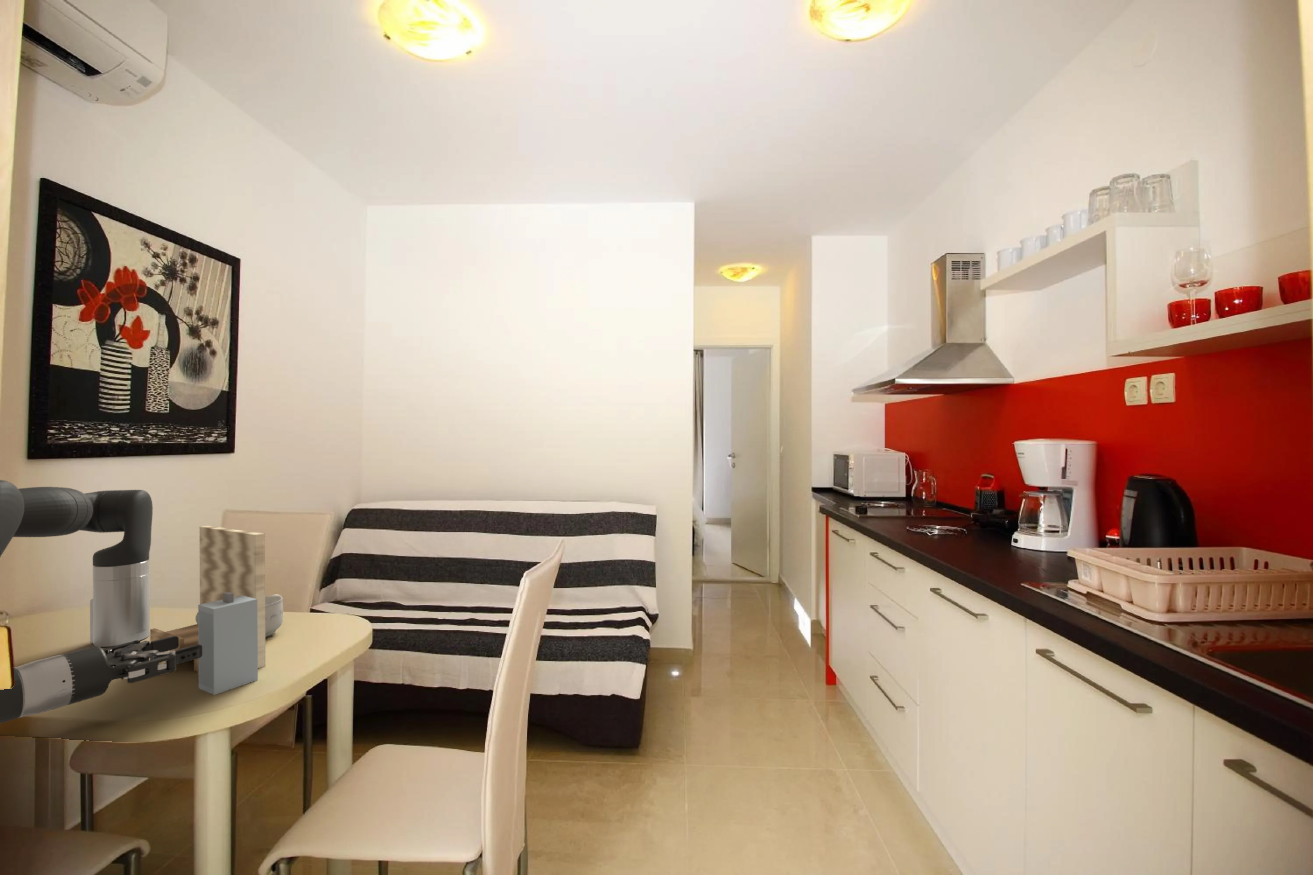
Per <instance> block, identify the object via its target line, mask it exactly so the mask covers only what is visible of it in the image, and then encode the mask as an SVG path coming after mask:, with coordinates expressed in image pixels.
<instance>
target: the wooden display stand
mask: <svg viewBox="0 0 1313 875" xmlns="http://www.w3.org/2000/svg"><path fill="white" fill-rule="evenodd" d="M265 537H266V536H265V533H264V532H263V533H262V532H256V531H249V530H241V529H236V528H235V529H233V528H227V527H222V526H221V527H220V526H213V525H202V526H199V604H204V603H209V602H213V601H218V600H222V599H223V593H225V592H230V593H234V597H236V596H241V595H242V596H247V597H251V598H255V599H257V624H258V669H260V668H264V667H266V637H265V596H266V550H265V549H266V546H265V545H266V539H265ZM149 636H150V640H149V641H150V643H151V641H155V640H159V639H163V638H167V637H171V636H177V637H178V638H179V646H178V648H176V649H173V650H170V651H174V650H178V649H182V648H186V647H189V646H193V645H197V644H198V624H197V623H196V624H192V625H187V626H184V627H178V628H175V629H171V630H167V631H164V630H161V629H158V628H150V635H149ZM263 666H264V667H263ZM193 671H194V672H196V673H199V658H198V659H194V660H193Z"/></svg>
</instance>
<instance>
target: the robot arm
mask: <svg viewBox="0 0 1313 875" xmlns="http://www.w3.org/2000/svg"><path fill="white" fill-rule="evenodd" d="M153 507H154V506H153V500H152V497H151V495H150V494H149V492H147V491H146V490H144V489H122V490H121V489H119V490H118V489H117V490H115V489H113V490H98V491H93V492H85V493H84V492H82V491H80V490H78V489H75V488H70V487H62V486H61V487H60V486H33V487H23V488H22V487H21V488H18V487H17V486H16V485H14V484H13V483H11V482H10V481H8V480H1V479H0V558H1V557H2V556H3V554H4V551H5V550H6V549H7V547H8V546H9V544H10V543H11V541H12V539H13V538H50V537H59V536H60V537H61V536H67V535H71V534H74V533H76V532H78V531H84V532H90V533H100V534H102V533H103V534H104V533H105V534H106V533H123V537H122V540H121V541H120V542H117V543H116V544H114V545H111V546H108V547H106V548H102V549H99V550H97V551H95V552H94V553H93V555H92V598H91V599H90V600H89V623H90V624H89V627H90V628H89V640H90V644H93V645H92V646H91V647H87V648H81V649H77V650H73V651H71V652H66V653H62V654H59V655H58V654H57V655H53V656H49V657H45V658H41V659H37V660H33V661H30V662H28V663H25V664H21V665H19V666H16V667H13V668H14V680H15V685H14V687H13V688H12V689H4V690H0V724H3V723H6V722H10V721H12V720H16V719H19V718H23V717H27V716H34V715H37V714H39V715H40V714H41V713H45V712H50V711H52V710H56V709H59V708H63V707H66V706H69V705H72V704H76V703H79V702H83V701H86V700H89V699H93V698H96V697H99V696H102V695H103V694H105V693H106V692H107V690H108V689H109V685H110V684H111V682H112V681H113V680H118V679H121V680H127V684H134V683H137V682H141V681H144V680H147V679H150V678H154V677H158V676H162V675H165V674H169V673H173V672H175V671H176V670H177V665H179V664H180V665H181V664H183V663H187V662H190V661H194V659H198V658H200V657H201V656H202V645H199V644H197V645H193V646H189V647H186V648H182V649H178V650H174V651H170V650H173V649H176V648H178V646H179V638H178V637H177V636H171V637H167V638H163V639H159V640H155V641H151V643H150V640H144V639H146V638H148V637H149V636H150V629H151V628H150V625H151V624H150V620H151V619H150V618H151V617H150V614H151V613H150V611H151V609H150V606H151V605H150V603H151V602H150V601H151V600H150V596H151V595H150V593H151V592H150V552H151V551H150V550H151V545H152V528H153V527H152V525H153V524H152V523H153V509H154V508H153ZM141 640H144V641H142V642H141ZM164 662H165V663H164ZM161 663H162V664H161Z"/></svg>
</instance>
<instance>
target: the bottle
mask: <svg viewBox="0 0 1313 875" xmlns="http://www.w3.org/2000/svg"><path fill="white" fill-rule="evenodd" d="M197 608H198V610H197V613H198V644H199V645H202V656H201V657H200V658H199V672H198V689H199V690H201V691H204V692H206V693H209V694H212V695H213V696H215V695H217V694H218V695H219V694H221V693H224V692H227V691H230V690H233V689H237V688H239V687H241V685H242V686H244V685H247V684H251V683H253V681H254V682H257V681H258V679H259V668H258V624H257V599H255V598H251V597H247V596H242V595H241V596H236V597H234V593H230V592H225V593H223V599H222V600H218V601H213V602H209V603H204V604H200V603H199V604H198V605H197ZM256 680H257V681H256ZM250 682H251V683H250ZM229 689H230V690H229Z"/></svg>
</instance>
